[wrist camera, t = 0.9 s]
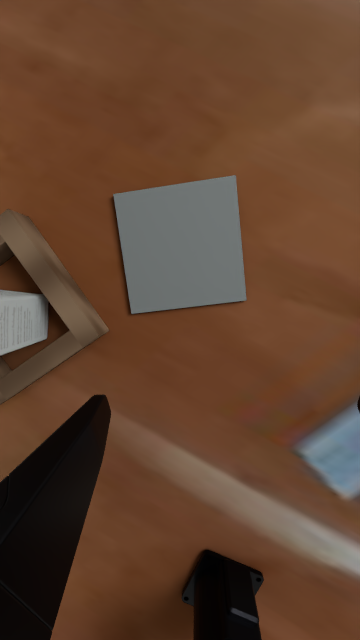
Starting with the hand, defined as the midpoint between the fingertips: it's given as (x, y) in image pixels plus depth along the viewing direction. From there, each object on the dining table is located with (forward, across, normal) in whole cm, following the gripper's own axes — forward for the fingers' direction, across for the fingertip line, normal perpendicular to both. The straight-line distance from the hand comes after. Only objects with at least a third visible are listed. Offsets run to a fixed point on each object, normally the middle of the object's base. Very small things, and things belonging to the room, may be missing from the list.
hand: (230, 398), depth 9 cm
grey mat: (+16, +2, -2) cm, 16 cm away
